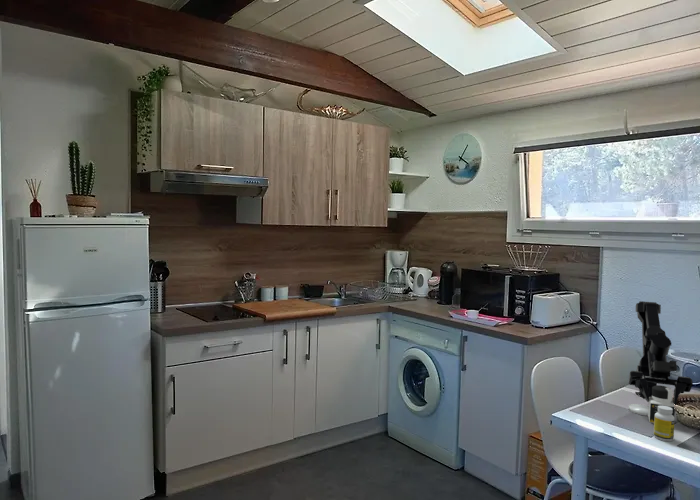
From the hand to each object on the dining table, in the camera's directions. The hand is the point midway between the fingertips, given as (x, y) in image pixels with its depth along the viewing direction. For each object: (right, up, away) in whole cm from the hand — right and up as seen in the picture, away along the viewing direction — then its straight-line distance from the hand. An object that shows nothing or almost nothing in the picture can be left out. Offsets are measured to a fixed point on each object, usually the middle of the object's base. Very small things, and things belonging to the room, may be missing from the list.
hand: (661, 403), depth 172 cm
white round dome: (0, -6, +11) cm, 12 cm away
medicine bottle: (0, -7, +1) cm, 7 cm away
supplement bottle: (-8, -7, -13) cm, 17 cm away
